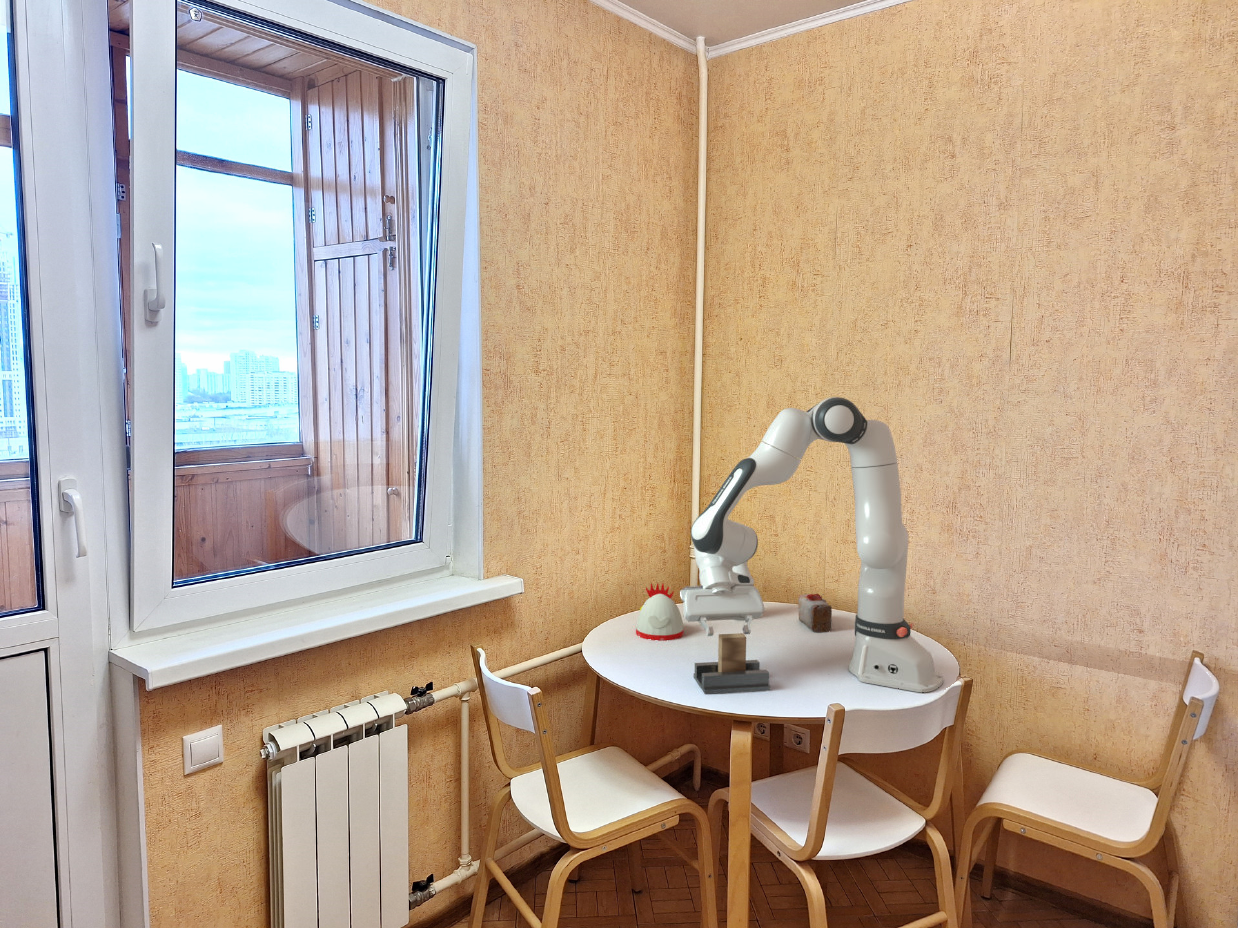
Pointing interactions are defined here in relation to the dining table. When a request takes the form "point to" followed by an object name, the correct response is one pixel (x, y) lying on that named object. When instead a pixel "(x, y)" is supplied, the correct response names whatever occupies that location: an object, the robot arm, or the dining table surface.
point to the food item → (815, 612)
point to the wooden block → (732, 652)
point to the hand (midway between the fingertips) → (728, 634)
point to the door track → (731, 678)
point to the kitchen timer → (659, 617)
